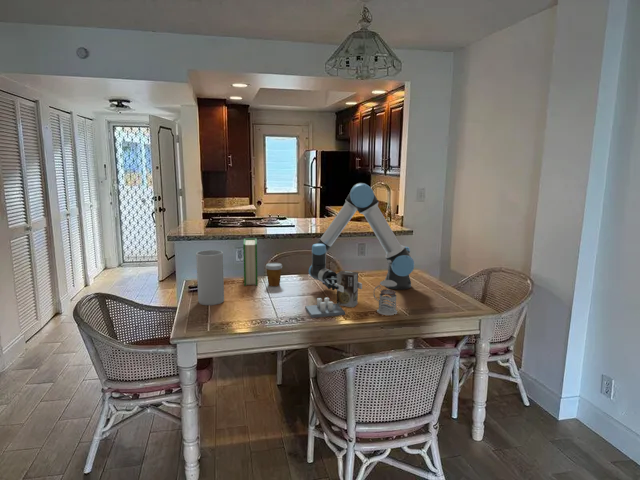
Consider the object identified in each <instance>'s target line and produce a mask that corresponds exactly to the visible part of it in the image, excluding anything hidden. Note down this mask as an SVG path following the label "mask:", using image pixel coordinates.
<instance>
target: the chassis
mask: <svg viewBox="0 0 640 480" xmlns="http://www.w3.org/2000/svg"><path fill="white" fill-rule="evenodd" d="M304 307H305V308H304V309H305V311H306V312H307V313H308V315H309V317H310V318H313V319H314V318H326V317H335V316H345V315H346V311H345V310H344V309H343V308H342V306H340V305H338V304H337V302H336V303H334V301H330V297H324V299H323V298H321V297H317V298H316V304H314V305H313V304H311V305H305V306H304Z"/></svg>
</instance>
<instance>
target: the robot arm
mask: <svg viewBox="0 0 640 480" xmlns="http://www.w3.org/2000/svg"><path fill="white" fill-rule="evenodd" d="M379 202H380V201H379V200H378V198H377V196H376V195H375V193H374V191H373V189H372V187H371V186H369V185H368V184H367V183H366V182H358V183H355V184H354V185H353V186H352V188H351V189H350V192H349V194H348V195H347V197H346V199H345V202H344V204H343V206H342V207H341V208H340V210H339V211H338V213H337V215H336V216H335V217H334V219H332V222H330V224H329V226H328V227H327V228H326V229H325V231H324V233H323V234H322V236H321V237H320V239H319V240H318V242H317V243H314V244H312V246H311V265H310V266H309V268H308V275H309V276H310V277H311V278H312V279H314V280H317V281H319V282H322V285H324V286H325V287H326V288H327V289H328V290H331V291H335V290H336V291H337V290H338V291H340V292H344V287H343V286H341V285H339V284H337V272H336V271H334V270H331V269H328V268H327V266H326V265H327V263H326V262H327V253H328V252H329V250H330V249H331V247H332V246H333V244H335V241H336V240H337V239H338V237H339V236H340V234H341V233H342V232H343V231H344V229H345V227H346V226H347V225H348V223H350V221H351V219H352V218H353V216H354V215H355V214H356V212H358V213H359V214H360V215H363V216H364V218H365V219H366V222H367V223H368V224H369V226H370V228H371V229H372V231H373V233H374V236H376V238H377V240H378V241H379V243H380V245H381V247H382V248H383V250H384V252H385V259H386V261H388V260H391V263H388V262H387V274H386V276H385V278H384V280H388V277H389V280H392V281H394V282H396V283H397V285H396V286H394V287H387V286H384V287H385V288H386V289H389V290H398V291H399V290H402V291H403V290H404V291H405V290H409V289H410V288H411V289H412V280H411V276H410V274H411V273H412V272H413V271H414V268H415V260H414V259H413V257H411V255H410V253H411V248H410V247H409V246H405V245H402V244H401V243H400V242H399V240H398V238H397V237H396V235H395V233H394V231H393V230H392V227H391V226H390V225H389V223H388V221H387V219H386V218H385V216H384V214H383V213H382V211H381V208H379ZM359 289H360V290H362V289H363V283H362V282H359V281H358V290H359Z"/></svg>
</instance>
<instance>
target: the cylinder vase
mask: <svg viewBox="0 0 640 480" xmlns="http://www.w3.org/2000/svg"><path fill="white" fill-rule="evenodd" d="M195 253H196V254H195V255H196V257H195V258H196V277H197V278H196V279H197V301H198V303H199V304H200V305H203V306H217V305H219V304H220V305H221V304H222V303H224V301H225V284H224V282H225V281H224V280H225V278H224V252H223V251H222V250H219V249H218V250H217V249H206V250H199V251H197V252H195Z"/></svg>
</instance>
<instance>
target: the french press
mask: <svg viewBox="0 0 640 480" xmlns="http://www.w3.org/2000/svg"><path fill="white" fill-rule="evenodd" d="M386 261H387V260H386ZM388 263H391V260H388V261H387V264H388ZM396 285H397V283H396V282H394V281H392V280H389V277H388V280H385V279H383V280H382V281H380V282H379V284H378V285H377V286H375V287H374V289H373V292H375V291H376V289H377V288H381V286H383V287H385V286H387V287H394V286H396ZM387 287H386V289H381V290H380V293H379V298H378V297H376V295H375V294H373V298H374V299H375V300H376V301H378V309H377V310H376V313H378V314H380V315H385V316H394V314H395V315H397V314H398V313H397V312H398V310H397V308H396V307H397V294H396V293H397V292H396V291H395V289H390V288H387Z"/></svg>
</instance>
